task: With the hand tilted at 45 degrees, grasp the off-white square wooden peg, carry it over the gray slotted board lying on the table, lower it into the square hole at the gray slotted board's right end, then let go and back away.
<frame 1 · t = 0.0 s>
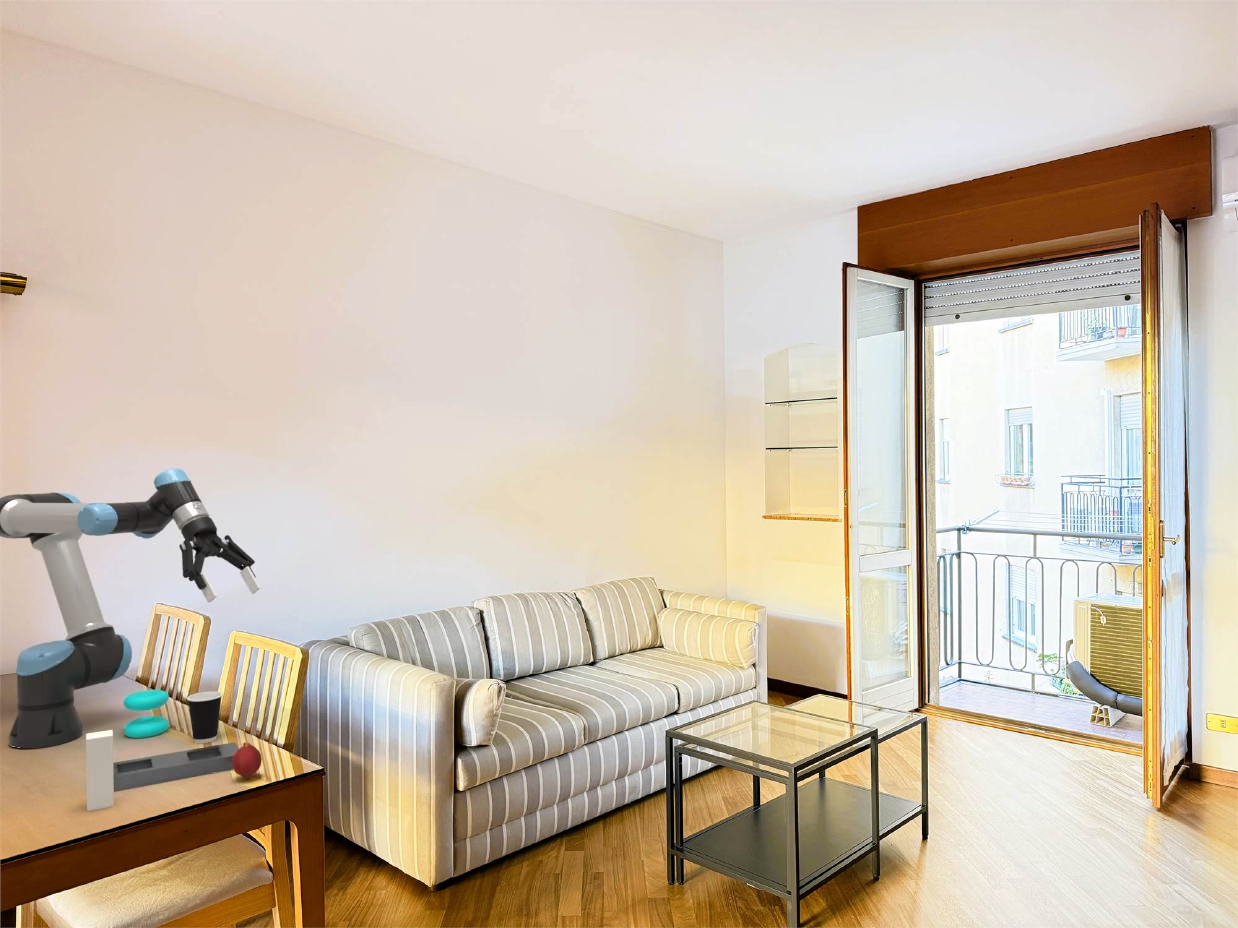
hand: (235, 595, 206), 36 cm above the table, tool tilted 35°, fingers open, 13 cm apart
gray slotted board: (169, 773, 185), on the table
peg: (100, 804, 168), on the table
onion: (247, 779, 181), on the table
dixie cup: (205, 740, 208), on the table
donuts: (146, 733, 214), on the table
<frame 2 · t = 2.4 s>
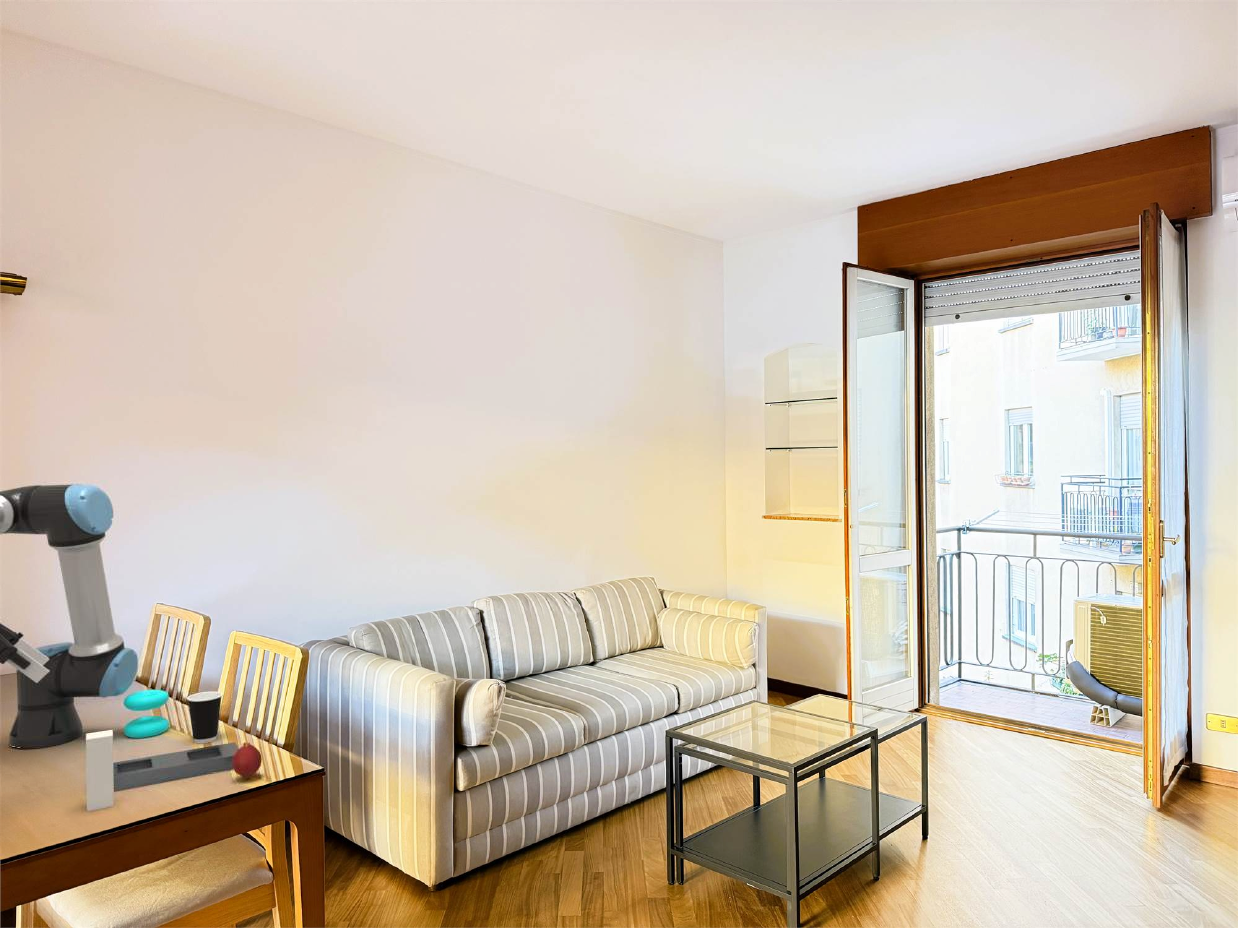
hand: (43, 670, 164), 28 cm above the table, tool tilted 45°, fingers open, 13 cm apart
nothing on the table moved.
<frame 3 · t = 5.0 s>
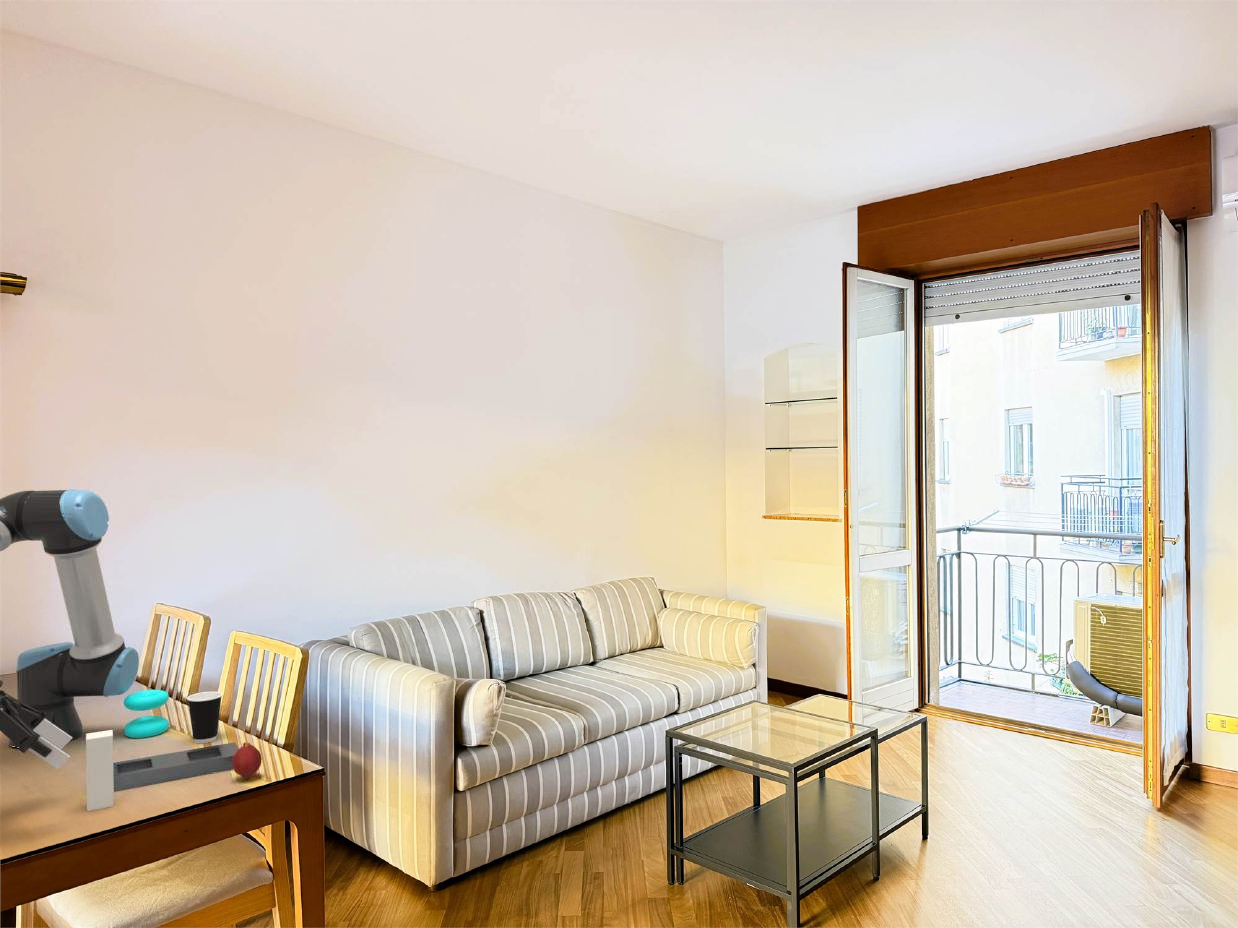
hand: (65, 752, 164), 12 cm above the table, tool tilted 45°, fingers open, 13 cm apart
nothing on the table moved.
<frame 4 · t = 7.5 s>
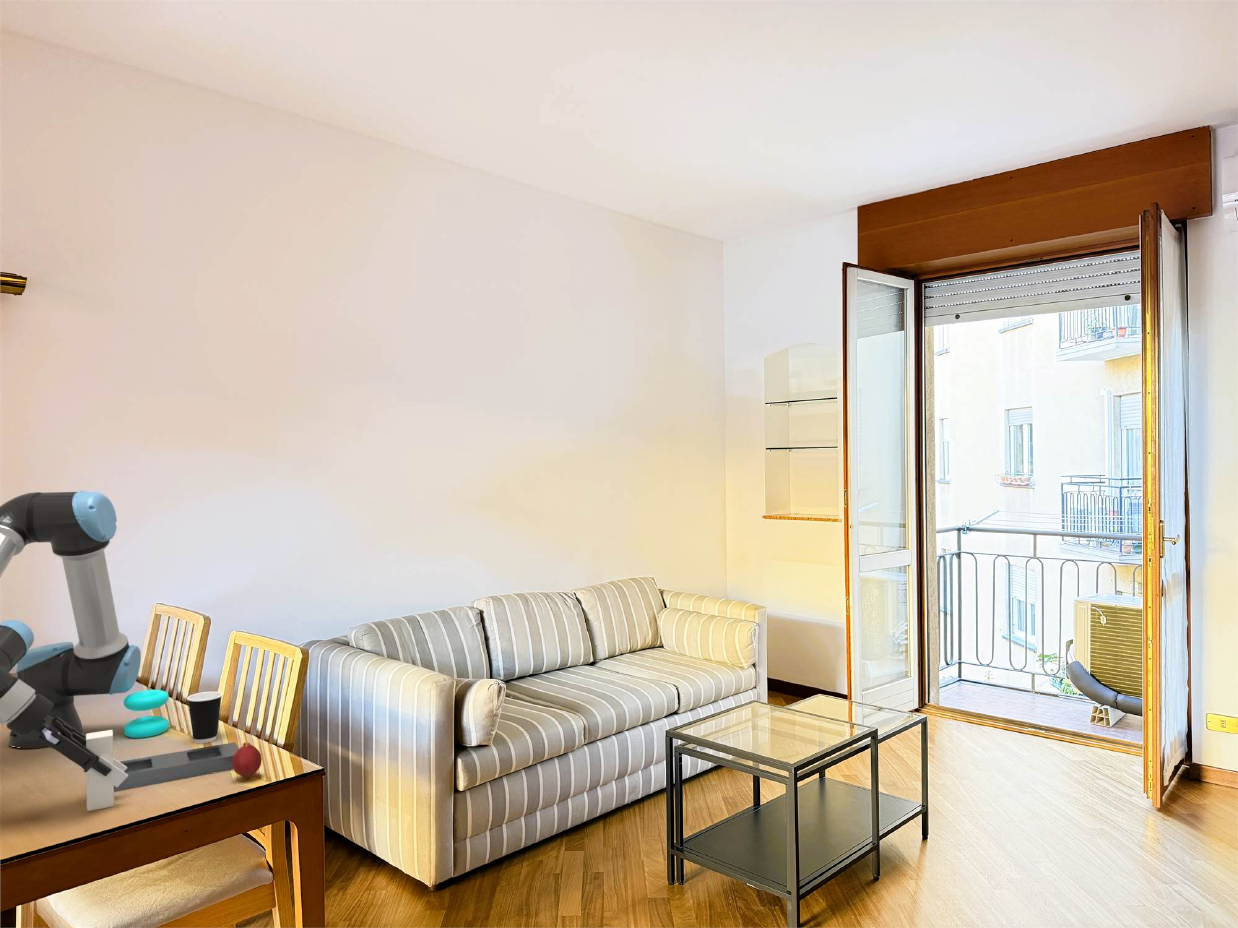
hand: (121, 776, 170), 5 cm above the table, tool tilted 45°, fingers closed on peg, 4 cm apart
peg: (100, 804, 168), on the table, touching gripper
everything else where it was.
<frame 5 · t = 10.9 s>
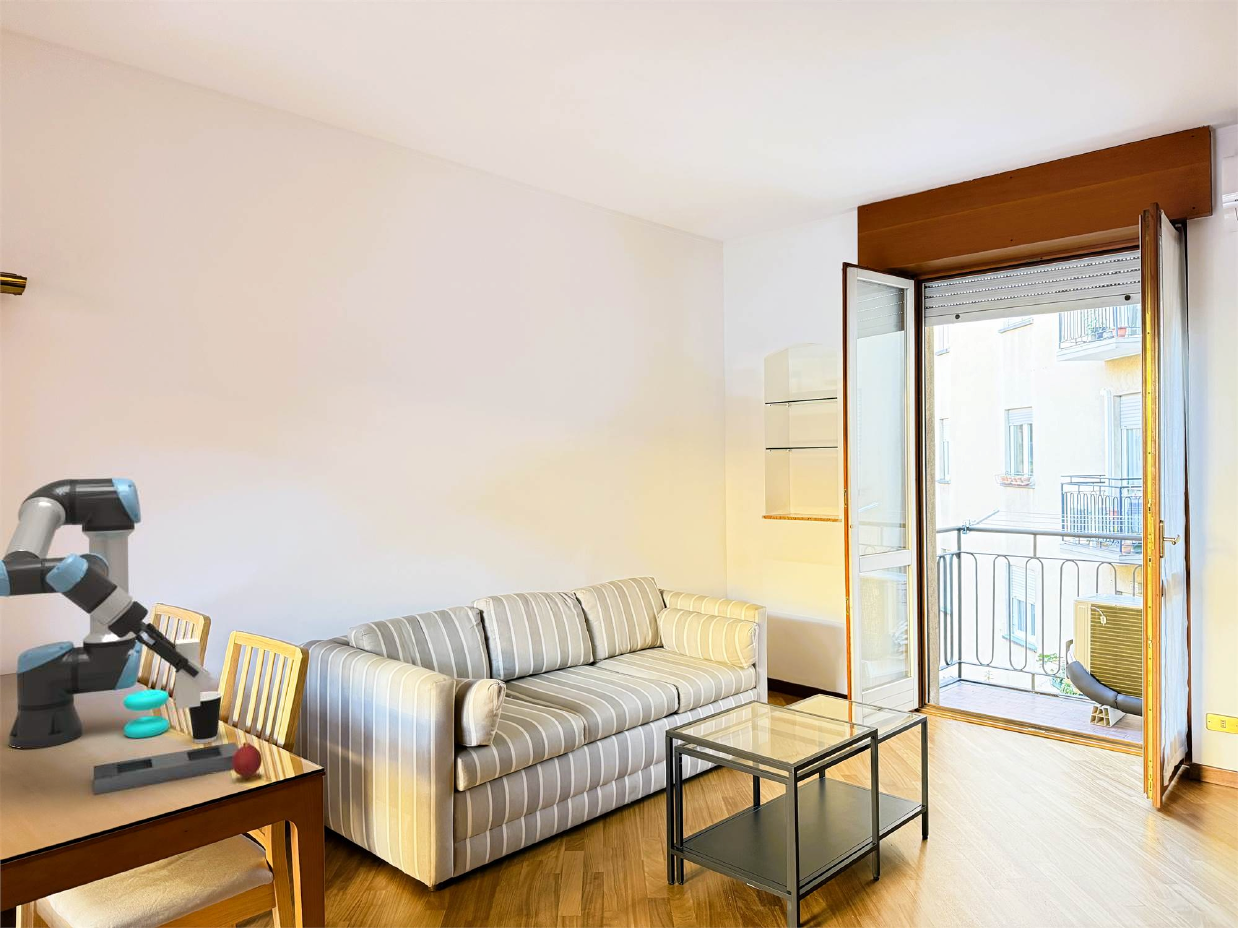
hand: (206, 680, 186), 20 cm above the table, tool tilted 45°, fingers closed on peg, 4 cm apart
peg: (187, 704, 184), point 15 cm above the table, touching gripper
everything else where it was.
when the fingers open (6 cm above the table, at t = 14.2 s): peg drops 1 cm, resting in gray slotted board.
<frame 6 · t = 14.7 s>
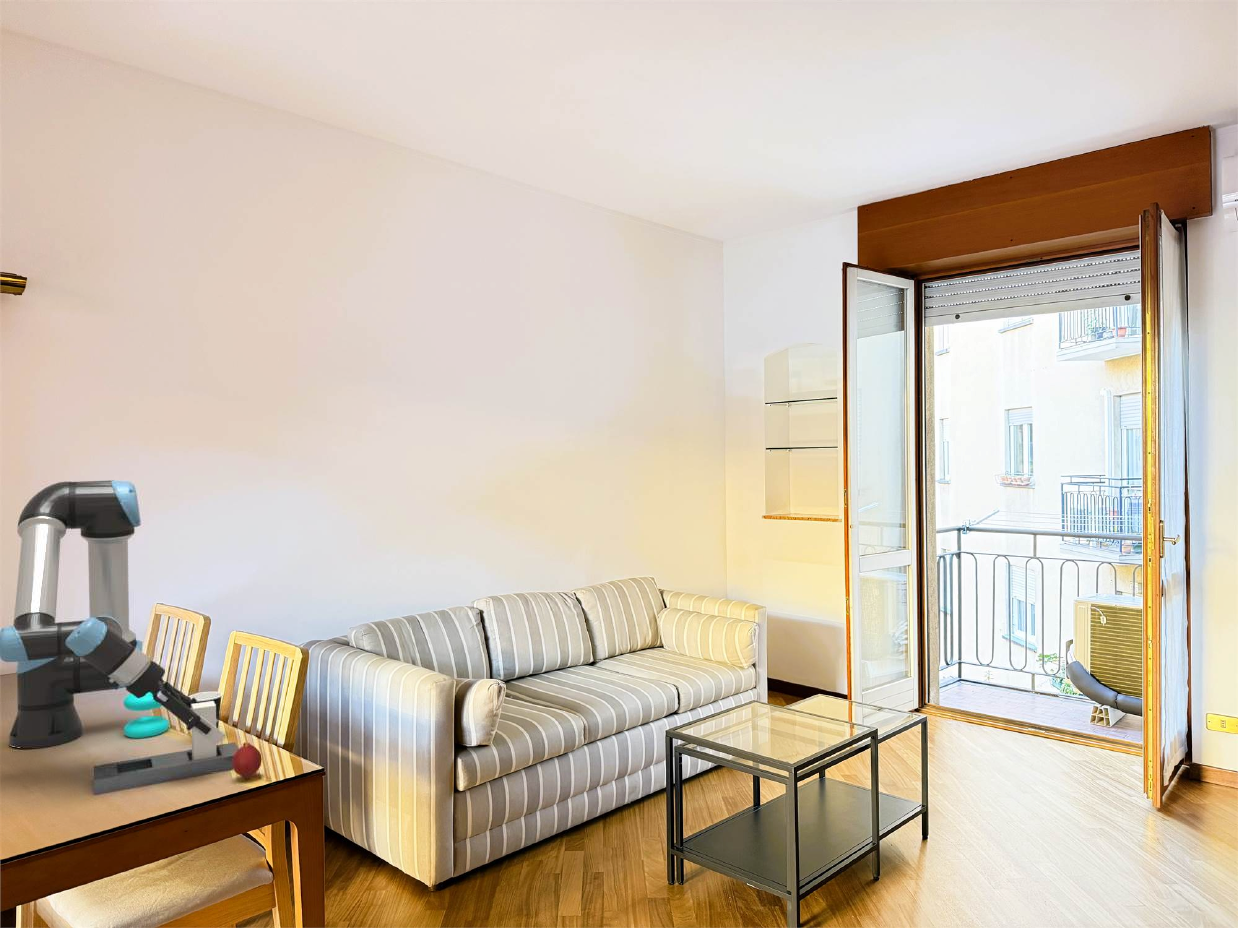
hand: (216, 732, 190), 7 cm above the table, tool tilted 45°, fingers open, 12 cm apart
peg: (204, 767, 189), resting in gray slotted board
everything else where it was.
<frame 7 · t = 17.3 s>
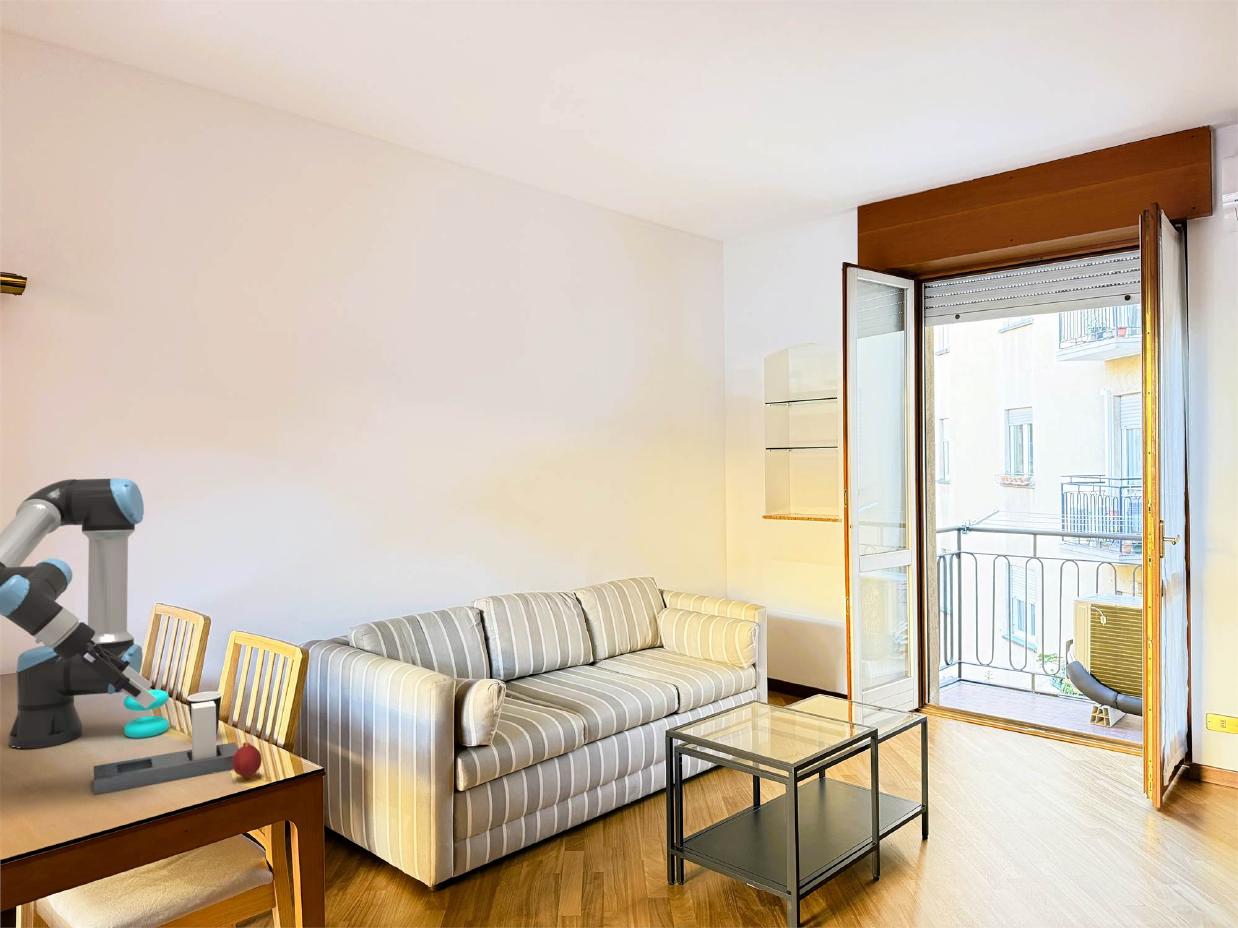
hand: (149, 695, 183), 18 cm above the table, tool tilted 45°, fingers open, 13 cm apart
nothing on the table moved.
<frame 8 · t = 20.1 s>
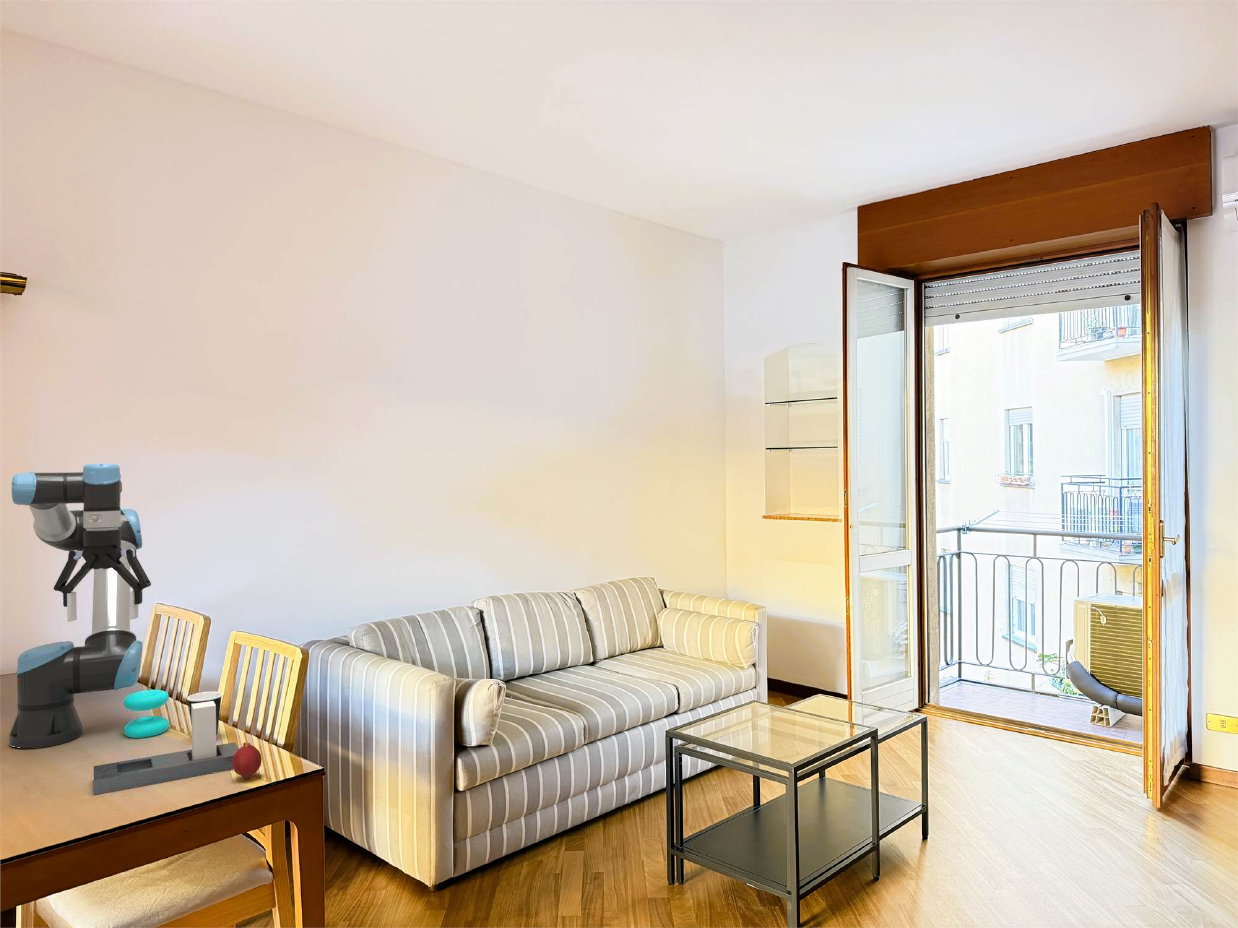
hand: (103, 619, 198), 32 cm above the table, tool pointing down, fingers open, 13 cm apart
nothing on the table moved.
at the end: peg 0.0 cm from the target spot on the gray slotted board, point 0.0 cm above the gray slotted board's base; peg tilted 0°; the gripper is holding nothing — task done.
